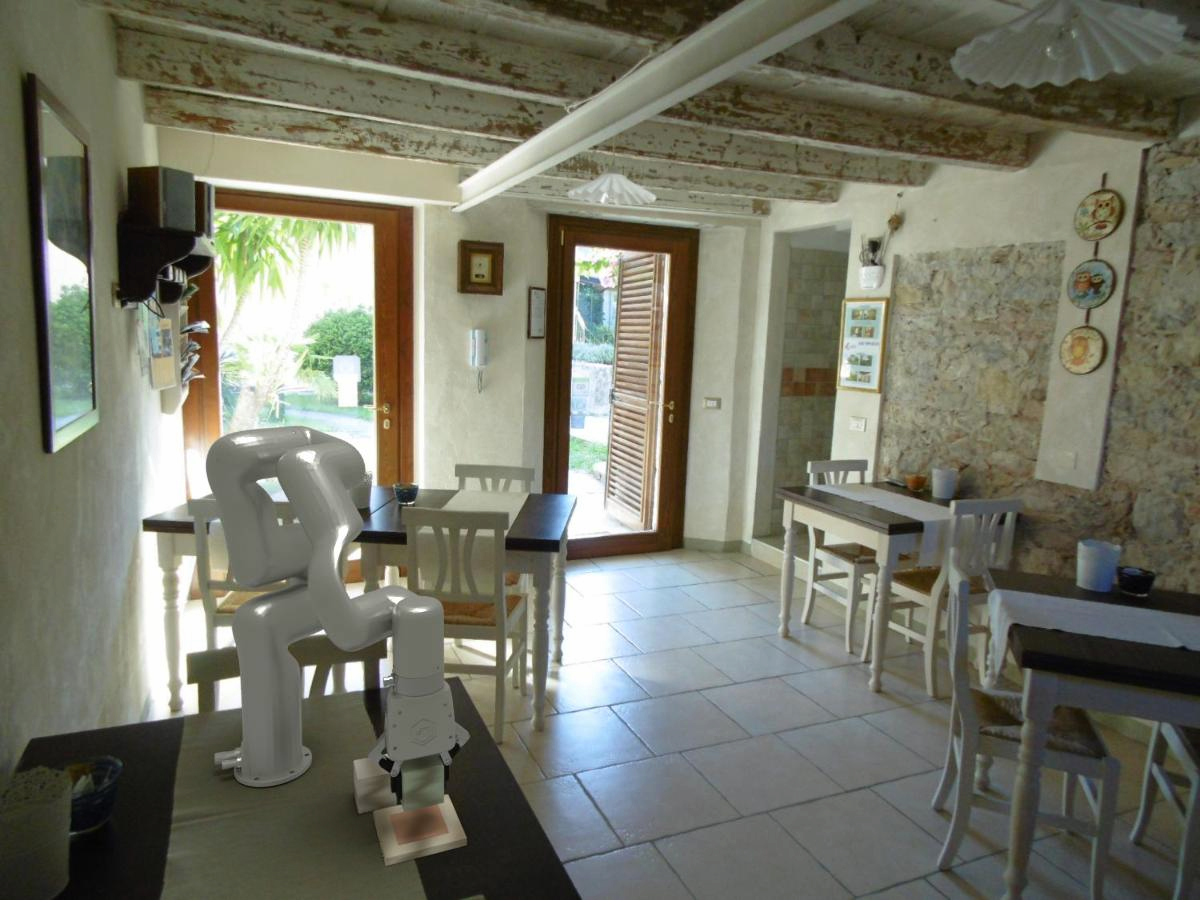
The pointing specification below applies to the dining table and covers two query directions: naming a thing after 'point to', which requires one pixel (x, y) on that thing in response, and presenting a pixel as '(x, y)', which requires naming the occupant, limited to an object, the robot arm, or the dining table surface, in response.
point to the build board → (418, 831)
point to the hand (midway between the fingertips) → (420, 789)
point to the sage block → (422, 782)
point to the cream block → (372, 786)
